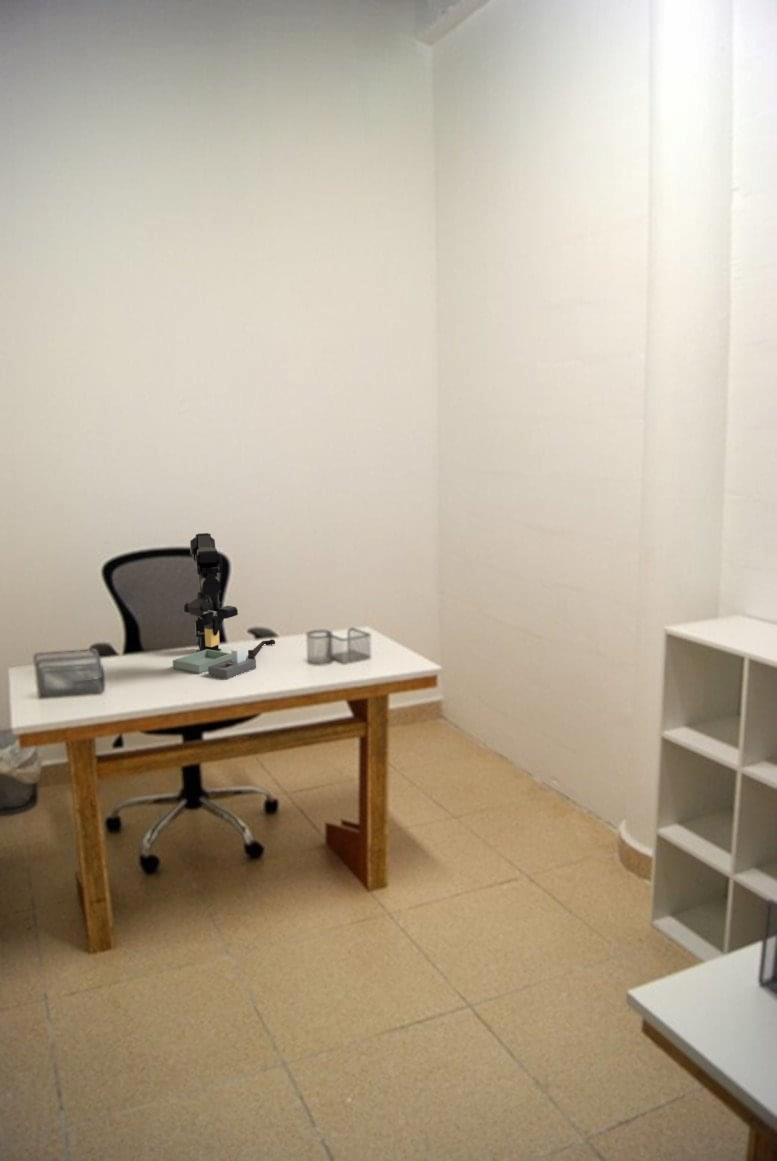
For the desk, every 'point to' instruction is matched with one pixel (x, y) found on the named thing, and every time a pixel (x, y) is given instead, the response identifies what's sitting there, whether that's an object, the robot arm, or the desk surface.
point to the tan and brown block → (211, 636)
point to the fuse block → (231, 668)
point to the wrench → (258, 648)
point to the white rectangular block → (238, 655)
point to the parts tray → (200, 661)
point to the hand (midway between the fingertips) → (212, 634)
